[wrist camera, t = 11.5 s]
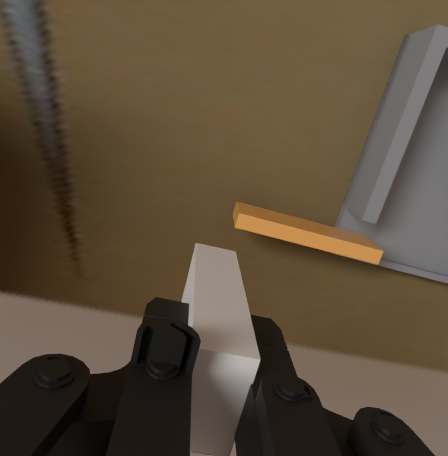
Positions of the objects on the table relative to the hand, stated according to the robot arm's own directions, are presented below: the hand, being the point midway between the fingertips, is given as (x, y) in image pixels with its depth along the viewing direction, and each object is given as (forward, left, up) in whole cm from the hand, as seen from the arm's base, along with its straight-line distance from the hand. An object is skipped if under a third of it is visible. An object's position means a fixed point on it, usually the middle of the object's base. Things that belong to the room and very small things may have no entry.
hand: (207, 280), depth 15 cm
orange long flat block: (+8, -2, -20) cm, 22 cm away
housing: (+19, +6, -22) cm, 30 cm away
